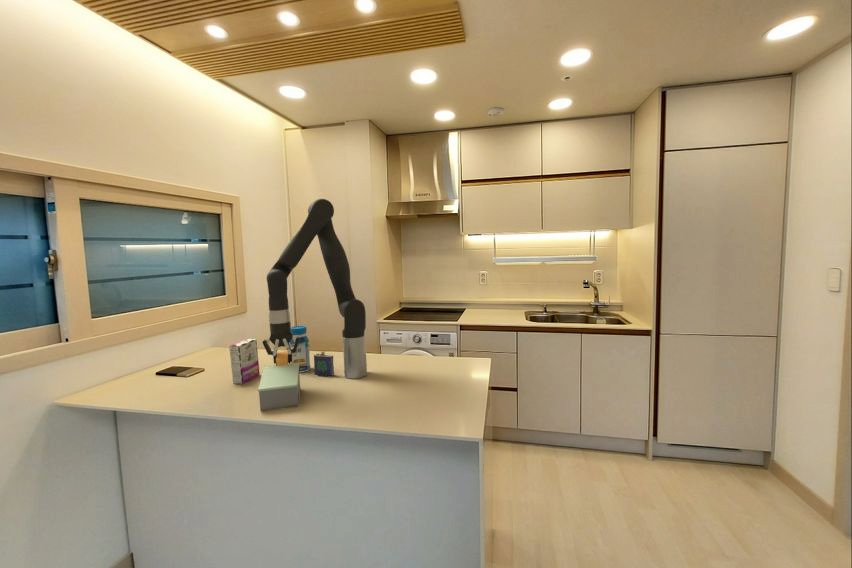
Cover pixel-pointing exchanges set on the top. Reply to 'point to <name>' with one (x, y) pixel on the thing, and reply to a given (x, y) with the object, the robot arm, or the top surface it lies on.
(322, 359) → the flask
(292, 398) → the tub
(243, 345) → the candy bar box
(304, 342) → the beverage bottle
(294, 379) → the lid
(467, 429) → the top surface
